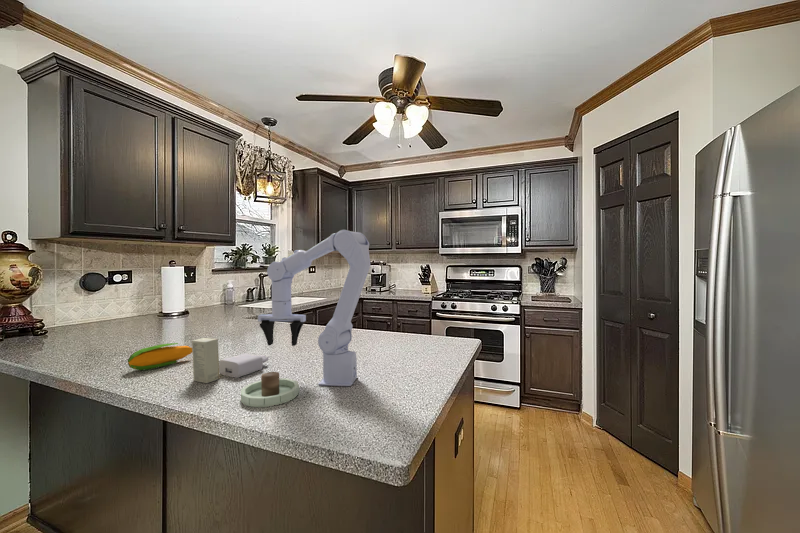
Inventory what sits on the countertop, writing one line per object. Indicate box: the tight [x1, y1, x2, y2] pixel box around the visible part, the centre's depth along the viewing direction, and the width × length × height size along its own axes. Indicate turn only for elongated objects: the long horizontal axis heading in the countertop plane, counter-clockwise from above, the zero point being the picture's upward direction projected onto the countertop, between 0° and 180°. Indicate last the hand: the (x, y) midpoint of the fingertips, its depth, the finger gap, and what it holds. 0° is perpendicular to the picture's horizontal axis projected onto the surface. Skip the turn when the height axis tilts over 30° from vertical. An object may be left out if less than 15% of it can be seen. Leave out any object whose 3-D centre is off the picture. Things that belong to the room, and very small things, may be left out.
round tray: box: [240, 377, 300, 408], centre depth 90 cm, size 14×14×2 cm
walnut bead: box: [260, 371, 280, 397], centre depth 90 cm, size 4×4×5 cm
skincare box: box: [191, 337, 220, 384], centre depth 103 cm, size 6×4×12 cm
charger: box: [219, 352, 271, 379], centre depth 113 cm, size 5×9×15 cm
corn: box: [127, 342, 192, 371], centre depth 118 cm, size 7×8×20 cm
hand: (282, 344), depth 106 cm, fingers open, 7 cm apart
